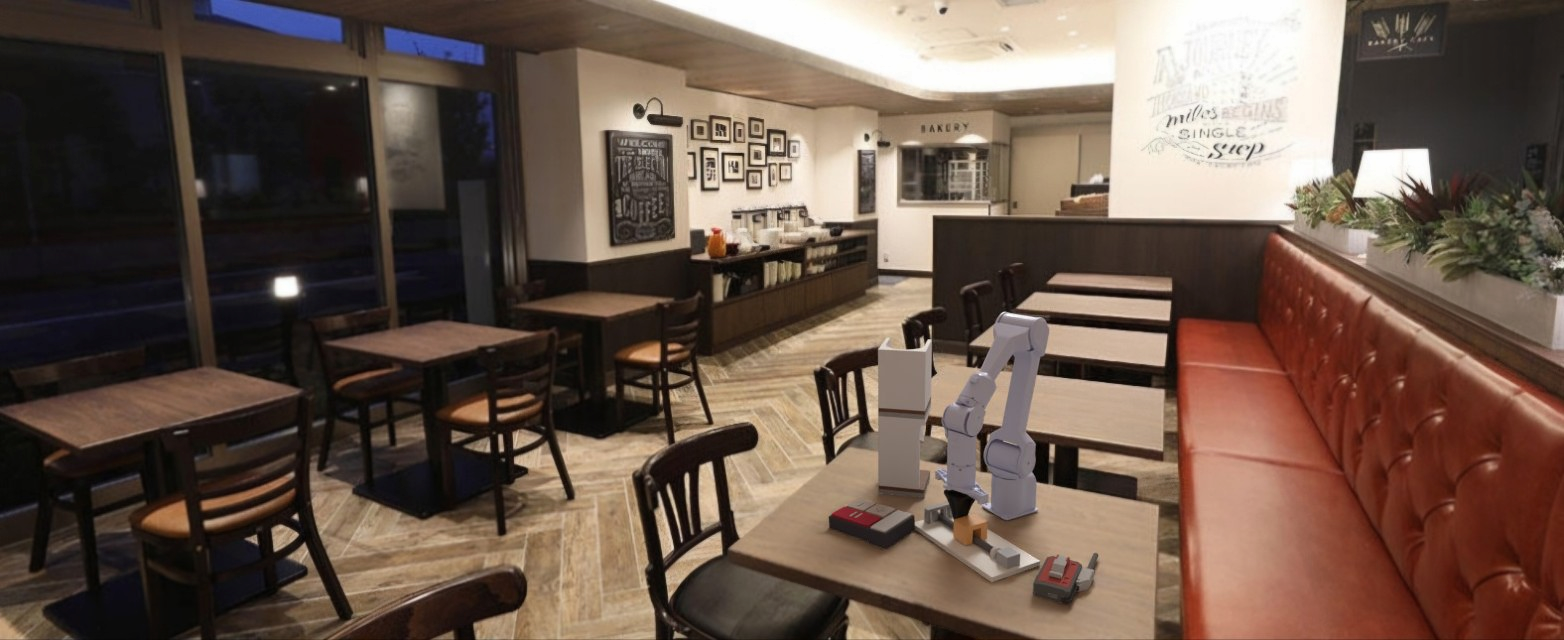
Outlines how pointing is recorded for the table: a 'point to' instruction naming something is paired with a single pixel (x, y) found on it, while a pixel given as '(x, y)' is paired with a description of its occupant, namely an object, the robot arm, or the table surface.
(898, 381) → the white box tower
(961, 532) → the orange block
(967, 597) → the table surface
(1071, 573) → the walkie-talkie
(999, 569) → the board
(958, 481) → the robot arm
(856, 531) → the calculator
